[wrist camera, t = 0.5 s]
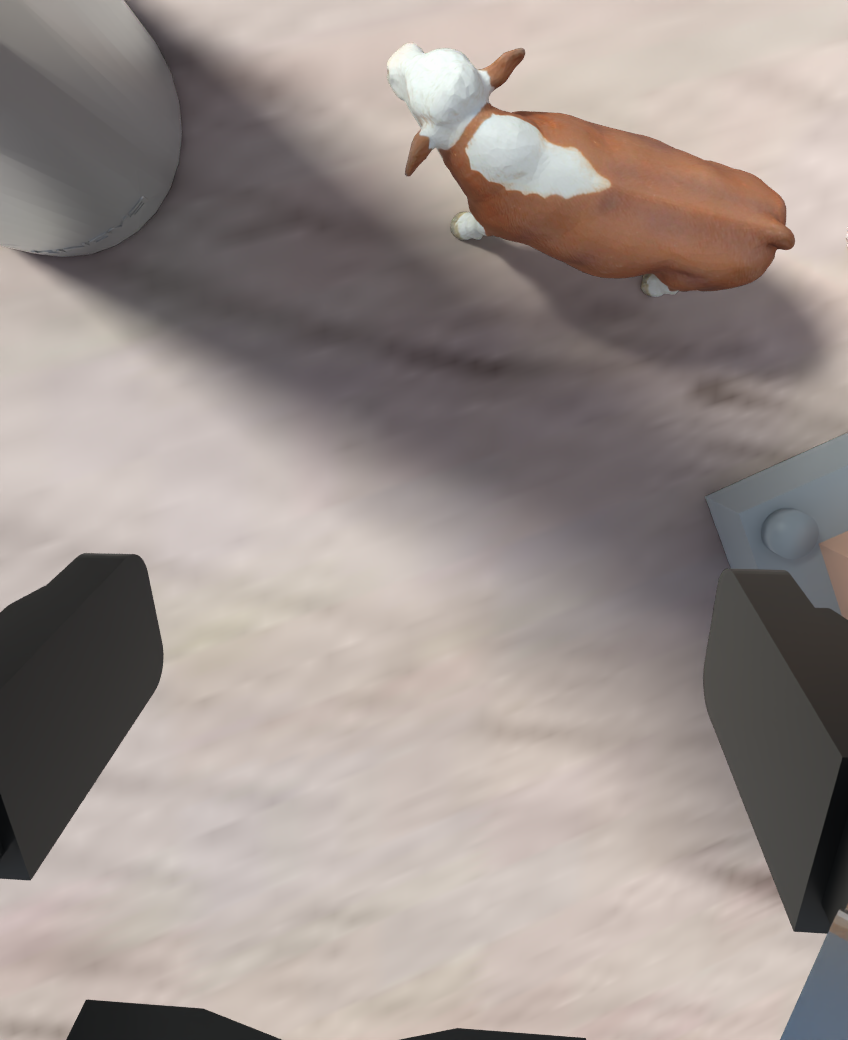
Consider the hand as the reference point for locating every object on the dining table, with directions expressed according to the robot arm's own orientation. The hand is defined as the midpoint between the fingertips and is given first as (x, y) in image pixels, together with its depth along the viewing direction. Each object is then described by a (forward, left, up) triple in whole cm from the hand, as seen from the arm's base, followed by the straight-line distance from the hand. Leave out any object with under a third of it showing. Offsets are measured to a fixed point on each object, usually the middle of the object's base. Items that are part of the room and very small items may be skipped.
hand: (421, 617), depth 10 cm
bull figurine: (-5, +9, -20) cm, 22 cm away
